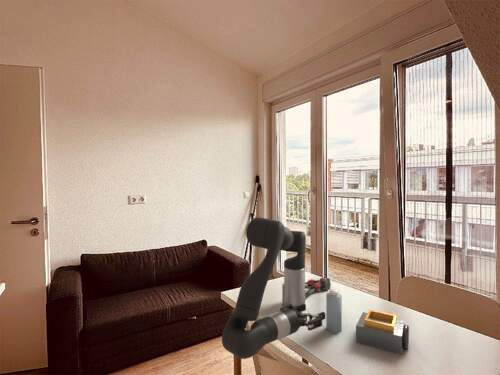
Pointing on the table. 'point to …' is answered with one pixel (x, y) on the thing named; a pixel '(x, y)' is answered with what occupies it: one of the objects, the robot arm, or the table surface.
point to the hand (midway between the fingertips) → (314, 310)
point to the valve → (317, 285)
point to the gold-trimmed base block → (382, 332)
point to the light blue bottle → (334, 311)
